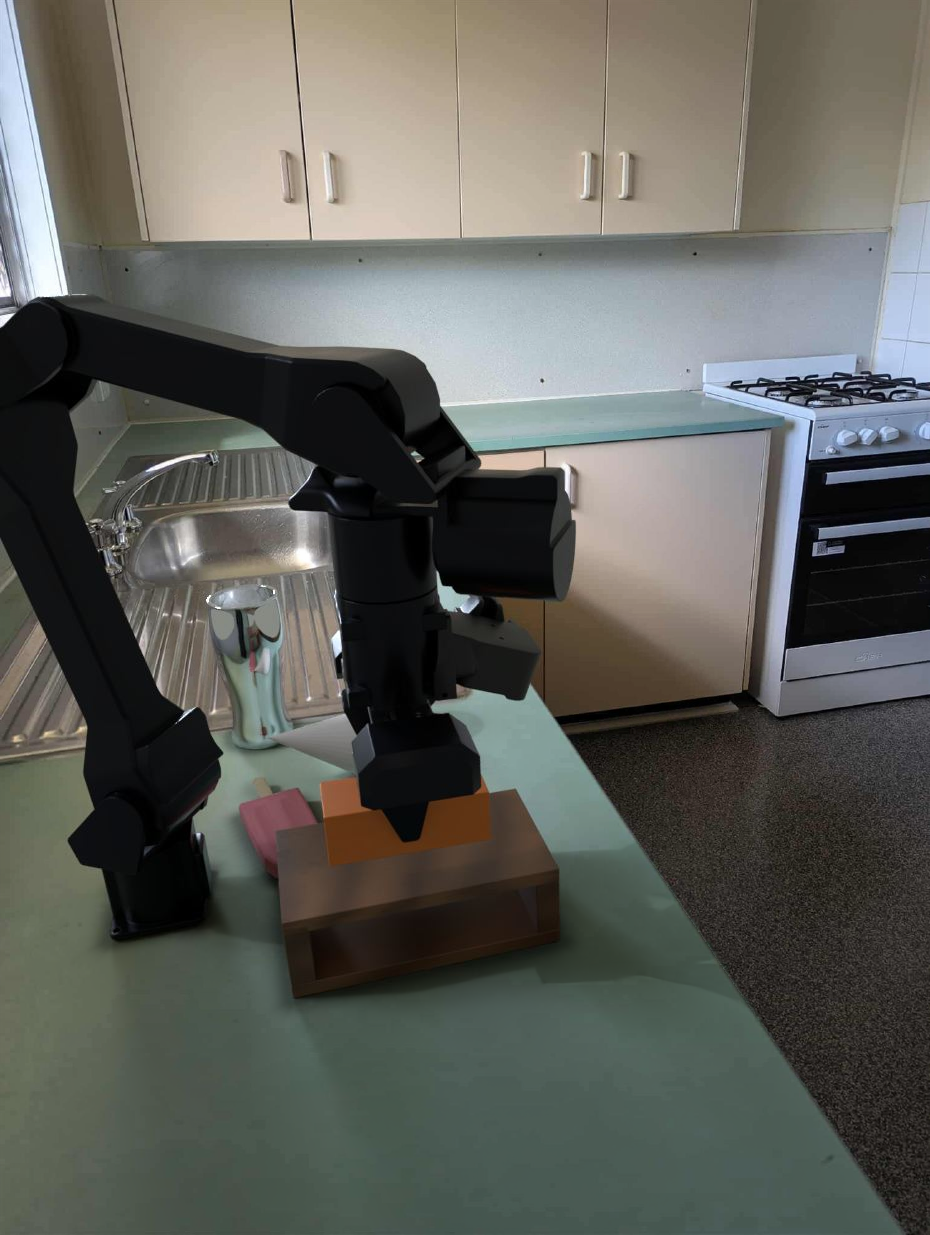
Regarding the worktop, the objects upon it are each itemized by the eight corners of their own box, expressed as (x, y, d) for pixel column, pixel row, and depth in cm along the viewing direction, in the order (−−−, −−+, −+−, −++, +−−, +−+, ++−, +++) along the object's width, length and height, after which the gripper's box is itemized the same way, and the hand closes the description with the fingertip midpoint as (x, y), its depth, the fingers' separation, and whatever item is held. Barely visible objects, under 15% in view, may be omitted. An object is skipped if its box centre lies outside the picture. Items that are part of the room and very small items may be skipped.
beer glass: (214, 746, 87) (188, 605, 81) (253, 714, 93) (232, 580, 87) (274, 756, 84) (252, 612, 78) (311, 723, 90) (293, 586, 84)
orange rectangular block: (329, 867, 52) (323, 818, 51) (324, 828, 56) (319, 781, 55) (491, 839, 54) (489, 791, 53) (476, 804, 58) (474, 758, 57)
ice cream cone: (265, 776, 81) (426, 782, 83) (261, 766, 75) (435, 773, 77) (270, 711, 82) (428, 718, 85) (267, 696, 77) (436, 705, 79)
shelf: (293, 998, 56) (281, 923, 54) (285, 898, 65) (275, 830, 63) (560, 941, 59) (559, 868, 57) (517, 853, 69) (515, 788, 66)
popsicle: (285, 763, 80) (337, 851, 67) (287, 778, 80) (339, 868, 68) (227, 779, 78) (268, 873, 65) (229, 794, 78) (271, 891, 66)
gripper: (578, 630, 42) (577, 893, 48) (486, 528, 59) (493, 731, 65) (346, 660, 40) (374, 931, 46) (320, 545, 57) (343, 753, 63)
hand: (405, 820), depth 55 cm, fingers closed on orange rectangular block, 4 cm apart
